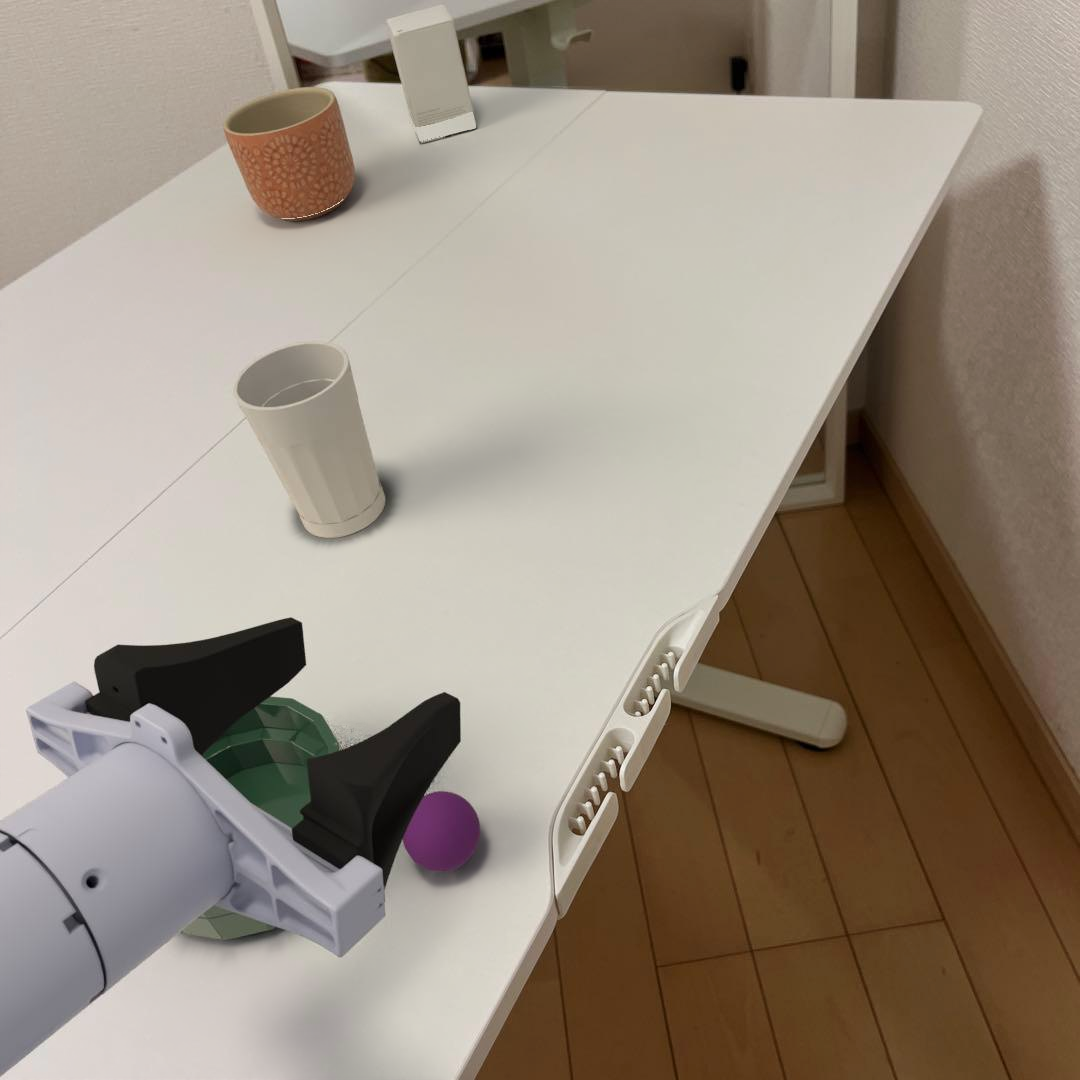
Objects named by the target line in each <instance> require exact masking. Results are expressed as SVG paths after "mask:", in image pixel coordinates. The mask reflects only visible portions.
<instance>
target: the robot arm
mask: <svg viewBox="0 0 1080 1080" xmlns="http://www.w3.org/2000/svg"><path fill="white" fill-rule="evenodd" d="M303 627H304V626H303V622H302V621H301V620H298V619H296V618H294V617H291V616H290V617H286V618H281V619H277V620H273V621H270V622H267V623H263V624H259V625H256V626H253V627H249V628H246V629H242V630H238V631H235V632H230V633H227V634H223V635H218V636H214V637H211V638H210V637H209V638H204V639H201V640H199V639H198V640H194V641H187V642H179V643H169V644H151V645H150V644H148V645H145V644H144V645H137V644H116V645H114V646H112V647H111V648H109V649H107V650H105V651H104V652H102V653H100V654H98V655H97V656H95V659H94V662H93V669H94V674H95V679H96V684H97V688H98V692H97V693H95V694H94V695H93V693H92V691H90V689H88V688H87V687H85V686H83V685H81V684H80V683H79V682H77V681H72V682H70V683H68V684H67V685H65V686H63V687H61V688H60V689H58V690H56V691H54V692H52V693H50V694H49V695H47V696H45V697H44V698H42V699H40V700H38V701H36V702H35V703H33V704H31V705H29V706H28V707H26V708H25V711H26V716H27V719H28V723H29V727H30V731H31V734H32V738H33V742H34V745H35V749H36V753H37V754H39V755H40V756H41V757H43V758H45V759H46V760H47V761H49V762H50V763H51V764H52V765H53V766H55V767H56V768H57V769H58V771H60V772H62V773H63V774H64V775H65V776H66V778H65V779H63V780H61V782H59V783H57V784H55V785H54V786H53V787H51V788H49V789H48V790H46V791H45V792H43V793H41V794H40V795H38V796H37V797H35V798H34V799H32V800H30V801H29V802H27V803H26V804H24V805H23V806H21V807H19V808H17V809H16V810H15V811H13V812H11V813H9V814H8V815H7V816H5V817H3V818H1V819H0V1078H1V1077H2V1076H4V1075H5V1074H6V1073H7V1072H8V1071H10V1070H12V1068H13V1067H15V1066H16V1065H17V1064H18V1063H20V1062H21V1061H22V1060H24V1059H25V1058H26V1057H27V1056H29V1054H31V1053H32V1052H33V1051H34V1050H36V1049H37V1048H38V1047H40V1046H41V1045H42V1044H43V1043H45V1042H46V1041H47V1040H49V1038H51V1037H52V1036H53V1035H55V1033H57V1032H58V1031H59V1030H60V1029H62V1028H63V1027H64V1026H65V1025H67V1024H68V1023H69V1022H70V1021H71V1020H73V1019H74V1018H76V1017H77V1016H78V1015H79V1014H80V1013H82V1012H83V1011H84V1010H85V1009H87V1008H88V1007H89V1006H90V1005H92V1004H93V1003H94V1002H95V1001H96V1000H98V999H99V998H100V997H101V996H103V995H104V994H106V992H108V991H109V990H110V989H112V988H113V987H114V986H115V985H117V984H118V983H120V981H122V980H123V979H124V978H125V977H127V976H128V975H129V974H130V973H131V972H133V971H134V970H135V969H137V968H138V967H139V966H140V965H141V964H143V963H144V962H145V961H146V960H148V959H149V958H150V957H151V956H152V955H154V954H155V953H156V952H158V951H159V950H160V949H161V948H163V946H165V945H166V944H167V943H169V942H170V941H171V940H172V939H173V938H175V937H176V936H177V935H178V934H180V933H182V932H181V931H182V930H183V929H184V928H186V927H187V926H188V925H189V924H191V923H192V922H193V921H194V920H196V919H197V918H198V917H199V916H201V915H202V914H203V913H204V912H205V911H207V910H208V909H209V908H210V907H212V906H213V905H215V906H218V907H221V908H223V909H226V910H229V911H232V912H235V913H238V914H241V915H244V916H247V917H249V918H252V919H255V920H258V921H261V922H264V923H267V924H270V925H272V926H275V928H279V929H281V930H284V931H287V932H289V933H293V934H295V935H298V936H300V937H303V938H304V939H305V938H306V939H307V940H309V941H311V942H313V943H315V944H317V945H319V946H321V947H322V948H324V949H325V950H327V951H328V952H330V953H332V954H333V955H334V956H337V957H338V958H343V957H344V956H346V954H347V953H348V952H349V951H351V949H353V948H354V947H355V946H356V945H357V944H358V943H359V942H360V941H361V940H362V939H363V938H365V936H366V935H367V934H368V933H369V932H371V931H372V930H373V928H375V927H376V926H377V925H378V924H379V923H380V922H381V921H382V920H383V919H384V918H385V917H386V903H385V902H386V893H385V891H386V887H387V884H388V880H389V877H390V874H391V871H392V869H393V865H394V863H395V859H396V857H397V854H398V852H399V849H400V846H401V844H402V843H403V837H404V834H405V832H406V830H407V828H408V826H409V823H410V821H411V819H412V817H413V815H414V813H415V811H416V809H417V808H418V806H419V804H420V802H421V800H422V798H423V797H424V796H425V795H426V793H427V791H428V790H429V788H430V786H431V785H432V784H433V782H434V780H435V779H436V777H437V776H438V774H439V772H441V770H442V768H443V766H444V765H445V764H446V762H447V761H448V759H449V758H450V757H451V755H452V754H453V752H454V751H455V750H456V748H457V747H458V746H459V745H460V743H461V741H462V735H461V734H462V732H461V731H462V730H461V728H462V727H461V701H460V699H459V698H458V697H456V696H454V695H452V694H450V693H448V692H446V691H443V692H441V693H437V694H435V695H433V696H431V697H429V698H427V699H425V700H424V701H422V702H420V703H419V704H418V705H416V706H415V707H414V708H412V709H411V710H409V711H408V712H406V713H405V714H404V715H402V716H401V717H400V718H399V719H397V720H395V721H394V722H393V723H391V724H390V725H388V726H387V727H386V728H384V729H382V730H381V731H379V732H377V733H375V734H373V735H371V736H370V737H367V738H365V739H363V740H361V741H359V742H356V743H355V744H352V745H350V746H347V747H345V748H341V749H342V750H339V751H336V752H333V753H330V754H326V755H322V756H318V757H314V758H308V759H307V770H308V779H309V788H310V798H311V801H310V802H309V803H308V804H307V805H305V806H304V807H303V808H302V809H301V810H300V814H302V815H303V820H302V821H301V822H299V823H298V824H297V825H296V826H294V827H293V828H291V827H289V826H287V825H286V824H284V823H283V822H281V821H279V820H278V819H276V818H274V817H273V816H271V815H270V814H268V813H266V812H265V811H263V810H262V809H260V808H258V807H257V806H255V805H253V804H252V803H250V802H249V801H248V800H247V799H246V798H245V797H244V796H243V795H242V794H241V793H240V792H239V791H238V790H237V789H236V788H235V787H233V786H232V785H231V784H230V783H229V782H228V781H227V780H226V779H225V778H224V777H223V776H222V775H221V774H220V773H219V772H218V771H217V770H216V769H215V768H214V767H213V766H212V765H210V764H209V763H208V762H207V761H206V760H205V759H204V758H203V757H202V755H203V754H204V752H205V751H206V750H207V749H208V748H209V747H210V746H211V745H212V744H213V743H214V742H215V741H216V740H217V739H218V738H219V737H220V736H221V735H222V734H224V733H225V732H226V731H227V730H228V729H229V728H230V727H231V726H232V725H233V724H234V723H236V722H237V721H238V720H239V719H240V718H242V717H243V716H244V715H245V714H247V713H248V712H250V711H251V710H252V709H254V708H255V707H256V706H258V705H259V704H261V703H262V702H263V701H265V700H266V699H267V698H269V697H270V696H272V697H273V695H275V694H276V693H278V691H280V690H281V689H282V688H284V687H285V686H286V685H288V684H289V683H290V682H291V681H292V680H293V679H294V678H295V677H296V676H298V674H299V673H301V671H302V670H303V669H304V668H305V667H306V666H307V658H306V648H305V637H304V628H303Z"/></svg>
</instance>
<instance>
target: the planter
mask: <svg viewBox="0 0 1080 1080" xmlns="http://www.w3.org/2000/svg"><path fill="white" fill-rule="evenodd" d="M222 128H223V134H224V137H225V139H226V141H227V144H228V147H229V149H230V151H231V154H232V156H233V158H234V161H235V164H236V165H237V168H238V170H239V172H240V174H241V177H242V179H243V181H244V184H245V187H246V189H247V191H248V193H249V195H250V197H251V199H252V201H253V202H254V203H255V205H256V206H257V207H258V208H259V209H260V210H261V211H263V212H264V214H267V215H269V216H271V217H272V218H275V219H279V220H281V221H286V222H302V221H308V220H313V219H316V218H319V217H322V216H325V215H326V214H327V215H328V214H329V213H331V212H332V211H334V210H336V209H337V208H338V207H339V206H340V205H341V204H342V203H344V201H346V199H347V197H348V196H349V194H350V193H351V191H352V189H353V187H354V183H355V179H356V178H355V177H356V169H355V163H354V157H353V154H352V150H351V146H350V143H349V138H348V135H347V130H346V126H345V122H344V119H343V115H342V111H341V108H340V104H339V102H338V99H337V97H336V95H335V93H334V92H333V91H331V90H330V89H328V88H324V87H319V86H305V87H304V86H303V87H295V88H289V89H284V90H280V91H276V92H273V93H269V94H265V95H263V96H260V97H258V98H255V99H253V100H251V101H249V102H247V103H245V104H243V105H241V106H239V107H237V108H236V109H234V111H232V112H231V113H229V115H228V116H227V117H225V119H224V121H223V124H222ZM349 192H350V193H349ZM347 195H348V196H347ZM346 196H347V197H346ZM345 197H346V198H345ZM344 198H345V199H344ZM342 199H344V200H343V201H341V200H342ZM340 201H341V202H340ZM338 202H340V203H339V204H337V203H338ZM335 204H337V205H335ZM333 205H335V206H334V207H332V206H333ZM330 207H332V208H330ZM327 208H330V209H328V210H326V209H327ZM323 210H325V211H323ZM321 211H323V212H321ZM319 212H320V213H319ZM315 213H318V214H315ZM311 214H314V215H311ZM308 215H311V216H308ZM303 216H307V217H303ZM276 217H277V218H276ZM297 217H302V218H297ZM281 218H295V219H281Z"/></svg>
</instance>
